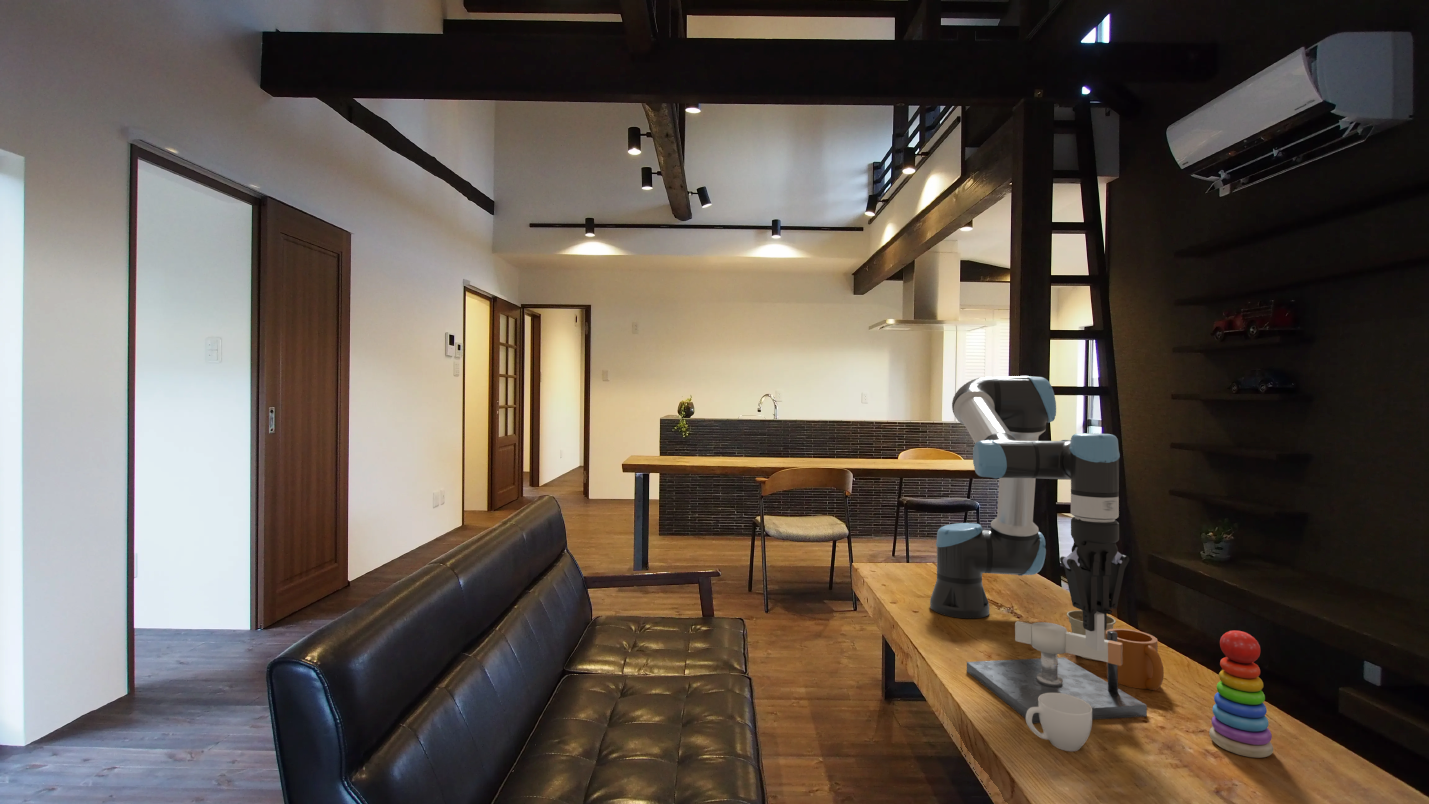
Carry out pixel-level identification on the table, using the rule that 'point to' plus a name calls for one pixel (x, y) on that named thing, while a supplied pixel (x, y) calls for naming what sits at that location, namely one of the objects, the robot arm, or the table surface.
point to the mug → (1139, 660)
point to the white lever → (1065, 642)
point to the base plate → (1056, 684)
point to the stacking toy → (1240, 699)
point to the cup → (1062, 720)
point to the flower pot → (1077, 624)
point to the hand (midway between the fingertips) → (1094, 647)
